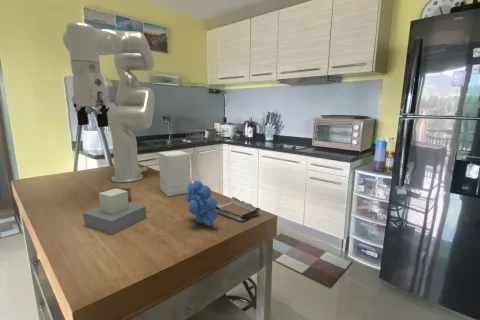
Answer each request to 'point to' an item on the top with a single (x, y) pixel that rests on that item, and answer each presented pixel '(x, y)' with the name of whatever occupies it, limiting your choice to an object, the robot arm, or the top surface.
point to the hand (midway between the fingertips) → (93, 125)
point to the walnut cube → (123, 189)
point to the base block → (114, 218)
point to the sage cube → (113, 201)
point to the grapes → (201, 203)
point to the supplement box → (174, 172)
